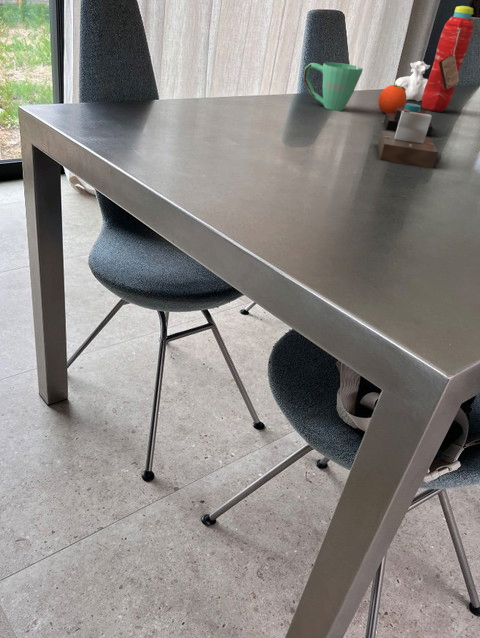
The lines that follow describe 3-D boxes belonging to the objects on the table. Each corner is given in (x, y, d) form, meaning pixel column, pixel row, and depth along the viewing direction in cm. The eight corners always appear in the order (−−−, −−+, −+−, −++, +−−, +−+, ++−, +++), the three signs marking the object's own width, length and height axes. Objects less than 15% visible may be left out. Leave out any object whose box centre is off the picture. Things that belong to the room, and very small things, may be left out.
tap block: (426, 153, 117) (431, 137, 115) (432, 168, 108) (438, 151, 106) (377, 145, 119) (382, 129, 117) (379, 160, 109) (384, 143, 107)
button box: (425, 128, 139) (430, 110, 136) (429, 137, 131) (435, 118, 128) (384, 121, 140) (388, 104, 138) (385, 130, 132) (391, 112, 130)
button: (417, 112, 134) (420, 104, 133) (419, 115, 131) (421, 107, 130) (402, 110, 135) (404, 102, 134) (403, 113, 132) (406, 105, 131)
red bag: (449, 117, 154) (485, 9, 140) (419, 112, 156) (451, 4, 141) (446, 109, 164) (480, 7, 149) (418, 105, 165) (448, 3, 151)
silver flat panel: (422, 141, 112) (431, 113, 109) (423, 143, 110) (432, 114, 107) (394, 137, 112) (402, 109, 109) (394, 139, 111) (403, 110, 108)
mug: (357, 110, 149) (367, 67, 143) (346, 115, 142) (356, 70, 136) (305, 99, 154) (312, 58, 148) (292, 104, 147) (300, 60, 141)
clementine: (390, 110, 153) (397, 81, 149) (409, 116, 149) (418, 87, 145) (369, 111, 150) (377, 81, 145) (389, 117, 145) (397, 87, 141)
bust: (428, 109, 174) (434, 74, 174) (436, 96, 166) (443, 59, 167) (388, 104, 175) (395, 68, 175) (395, 90, 168) (402, 54, 168)
